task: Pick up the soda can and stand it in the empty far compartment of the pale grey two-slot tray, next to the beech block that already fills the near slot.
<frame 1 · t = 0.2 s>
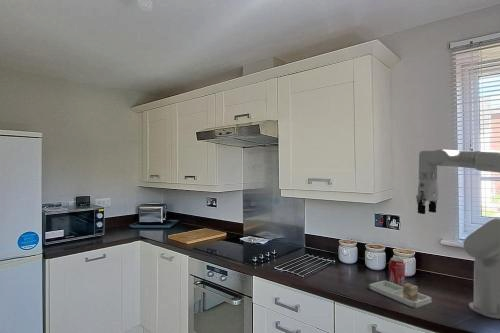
hand: (426, 212, 142), 36 cm above the worktop, tool pointing down, fingers open, 9 cm apart
soda can: (396, 284, 149), on the worktop
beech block: (410, 299, 129), point 1 cm above the worktop, touching organiser tray
organiser tray: (398, 296, 133), on the worktop
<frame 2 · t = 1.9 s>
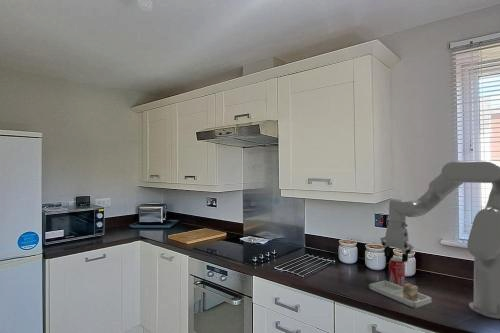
hand: (395, 258, 149), 12 cm above the worktop, tool pointing down, fingers open, 9 cm apart
nothing on the worktop moved.
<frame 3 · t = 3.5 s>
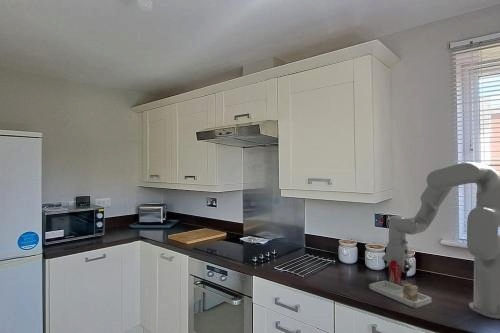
hand: (396, 277, 149), 3 cm above the worktop, tool pointing down, fingers closed on soda can, 7 cm apart
soda can: (396, 284, 149), on the worktop, touching gripper
everything else where it was.
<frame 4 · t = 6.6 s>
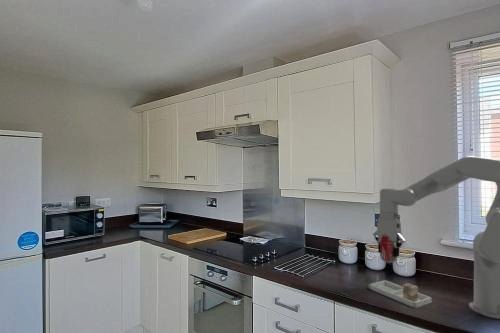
hand: (388, 253, 138), 17 cm above the worktop, tool pointing down, fingers closed on soda can, 7 cm apart
soda can: (388, 261, 138), point 14 cm above the worktop, touching gripper
everything else where it was.
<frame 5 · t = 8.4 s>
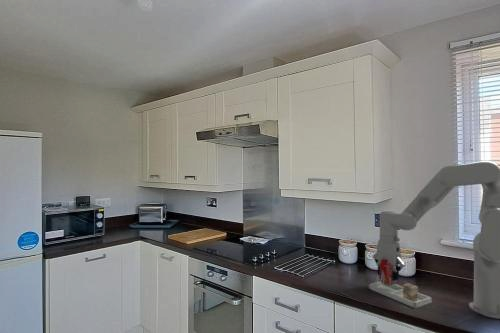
hand: (387, 276, 138), 7 cm above the worktop, tool pointing down, fingers closed on soda can, 7 cm apart
soda can: (387, 284, 138), point 3 cm above the worktop, touching gripper
everything else where it was.
when the fingers open (5 cm above the worktop, at t = 9.7 s): soda can drops 1 cm, resting on organiser tray.
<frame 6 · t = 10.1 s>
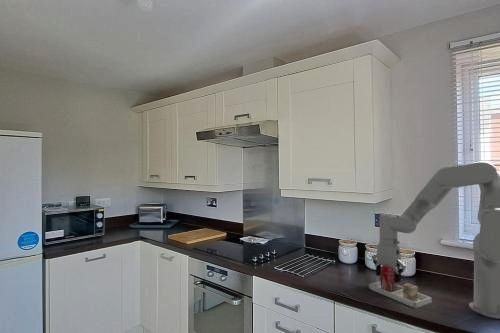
hand: (387, 278, 138), 6 cm above the worktop, tool pointing down, fingers open, 9 cm apart
soda can: (389, 291, 138), point 1 cm above the worktop, touching organiser tray
everything else where it was.
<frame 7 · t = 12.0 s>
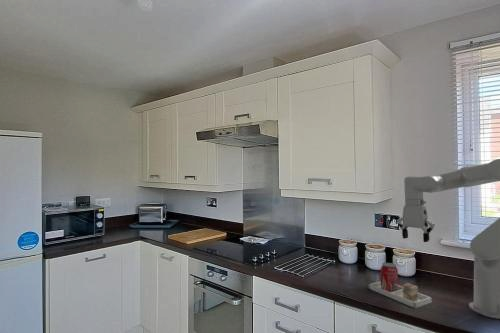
hand: (415, 239, 139), 24 cm above the worktop, tool pointing down, fingers open, 9 cm apart
nothing on the worktop moved.
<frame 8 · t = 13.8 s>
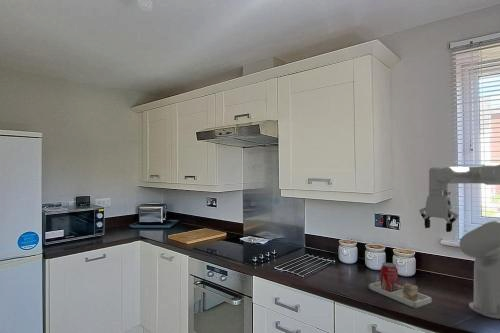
hand: (437, 229, 141), 28 cm above the worktop, tool pointing down, fingers open, 9 cm apart
nothing on the worktop moved.
at the end: soda can 0.7 cm from the target spot on the organiser tray, point 0.5 cm above the organiser tray's base; soda can tilted 0°; the gripper is holding nothing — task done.
